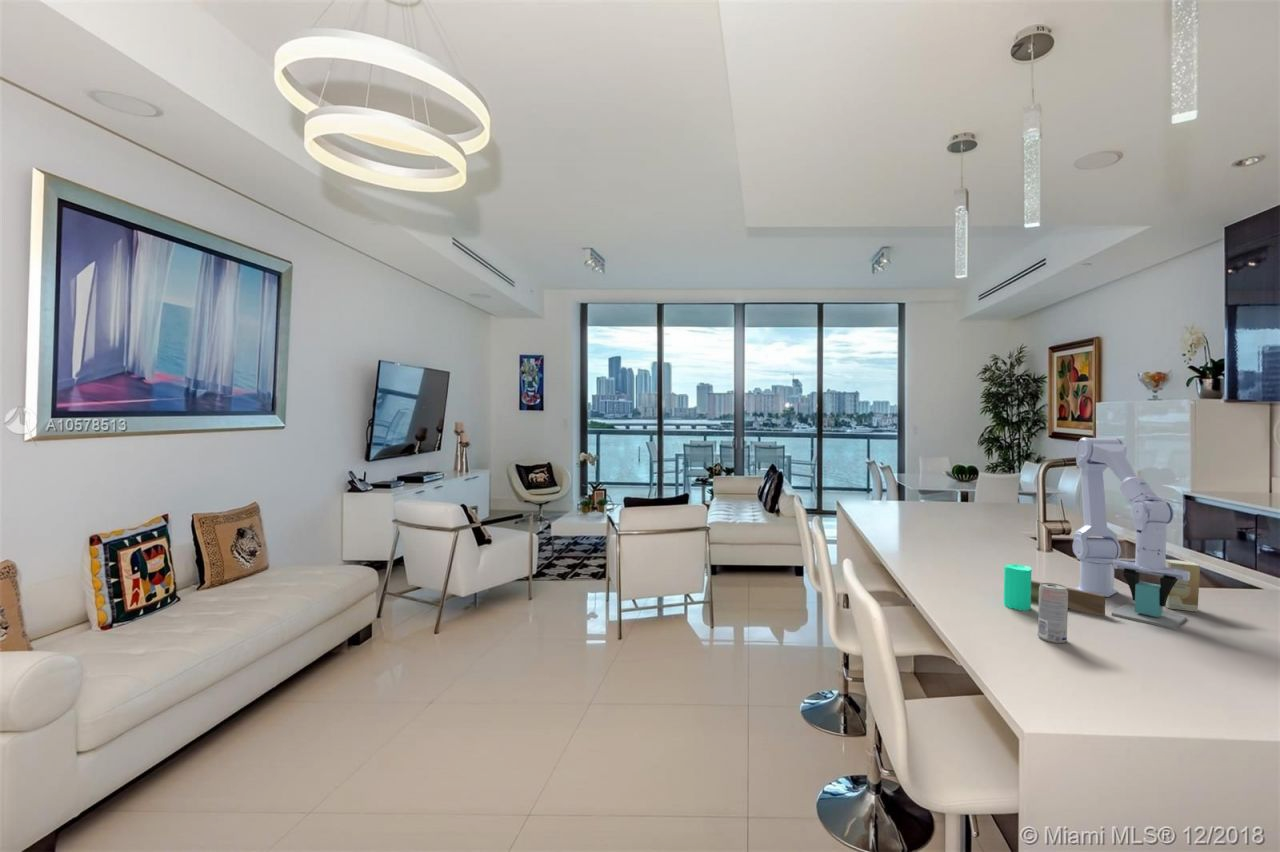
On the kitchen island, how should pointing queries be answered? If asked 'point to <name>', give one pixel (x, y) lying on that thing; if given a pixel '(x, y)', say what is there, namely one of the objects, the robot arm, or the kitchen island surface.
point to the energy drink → (1053, 612)
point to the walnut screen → (1077, 600)
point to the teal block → (1148, 599)
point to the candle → (1017, 586)
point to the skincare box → (1184, 587)
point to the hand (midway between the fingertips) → (1149, 602)
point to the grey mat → (1150, 617)
